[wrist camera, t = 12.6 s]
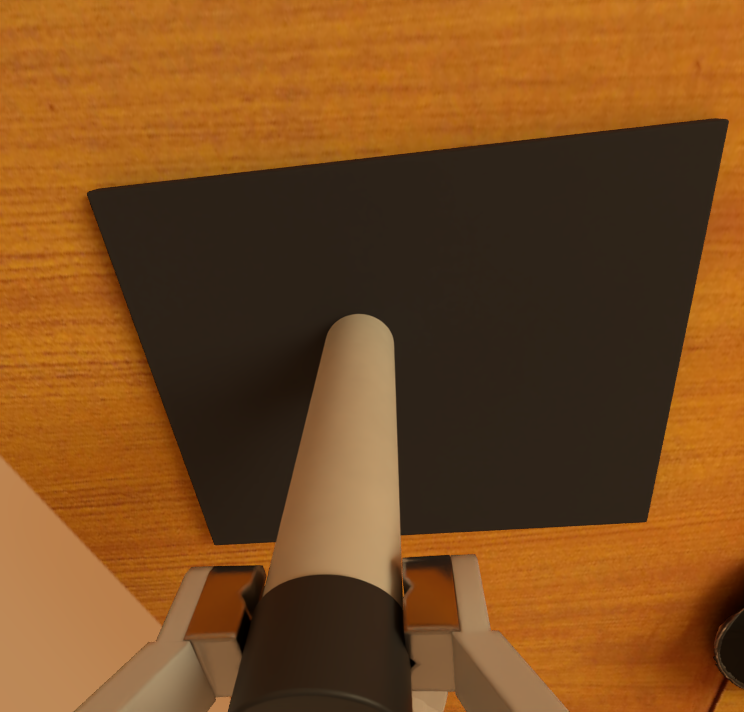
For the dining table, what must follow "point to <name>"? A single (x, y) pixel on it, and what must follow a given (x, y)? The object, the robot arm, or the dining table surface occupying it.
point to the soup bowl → (731, 648)
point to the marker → (337, 548)
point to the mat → (430, 318)
